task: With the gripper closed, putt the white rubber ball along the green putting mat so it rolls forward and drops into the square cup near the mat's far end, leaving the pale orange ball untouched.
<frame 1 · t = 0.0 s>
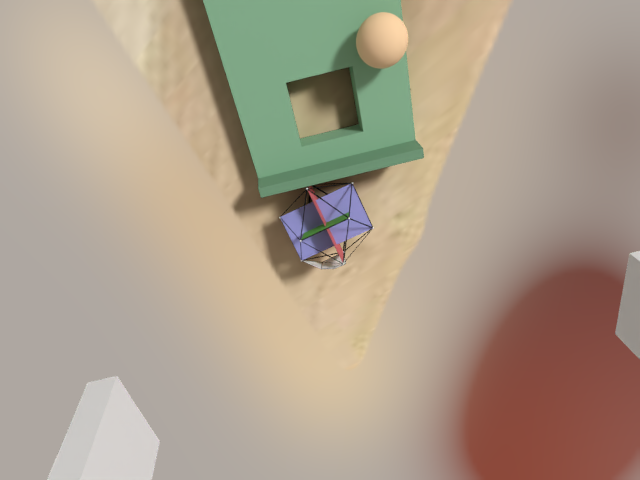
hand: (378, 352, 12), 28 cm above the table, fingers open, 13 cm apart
orange ball: (381, 41, 31), point 4 cm above the table, touching putting mat
geometric puzzle: (321, 204, 41), on the table
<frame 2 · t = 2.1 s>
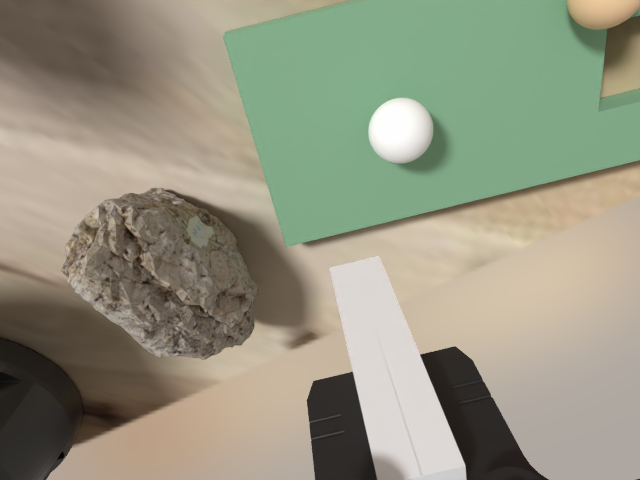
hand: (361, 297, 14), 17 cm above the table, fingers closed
rock: (179, 236, 31), on the table
putting mat: (478, 89, 28), on the table
white ball: (400, 131, 25), point 4 cm above the table, touching putting mat
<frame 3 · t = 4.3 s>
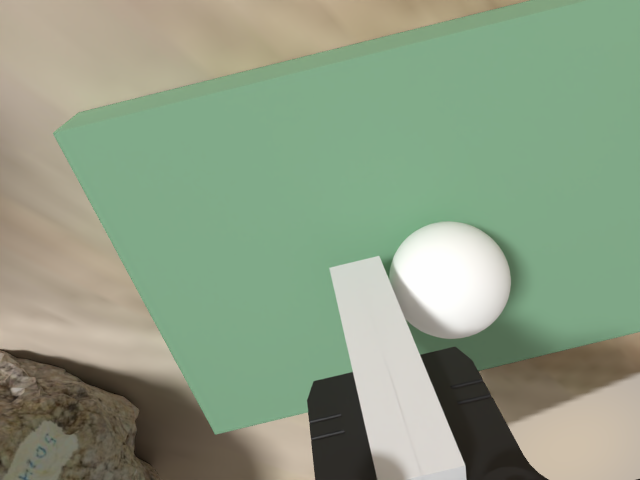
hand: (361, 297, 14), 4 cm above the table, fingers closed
rock: (52, 406, 20), on the table
putting mat: (528, 192, 17), on the table
white ball: (447, 279, 14), point 4 cm above the table, tilted 49°, touching putting mat
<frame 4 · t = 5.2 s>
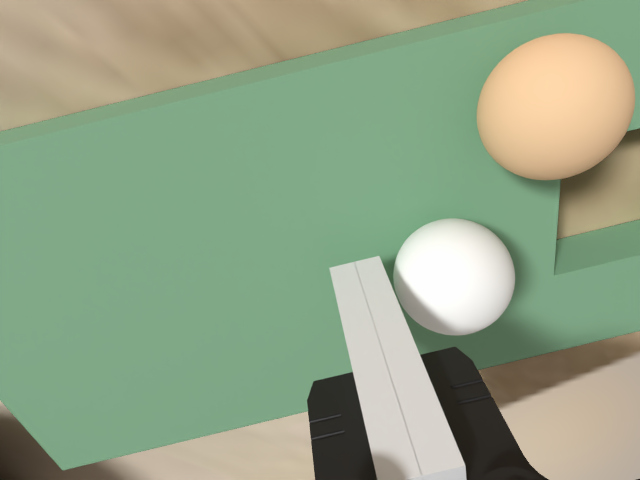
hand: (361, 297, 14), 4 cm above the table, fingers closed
orange ball: (550, 109, 11), point 4 cm above the table, touching putting mat
putting mat: (357, 233, 17), on the table
white ball: (452, 276, 14), point 4 cm above the table, tilted 93°, touching putting mat
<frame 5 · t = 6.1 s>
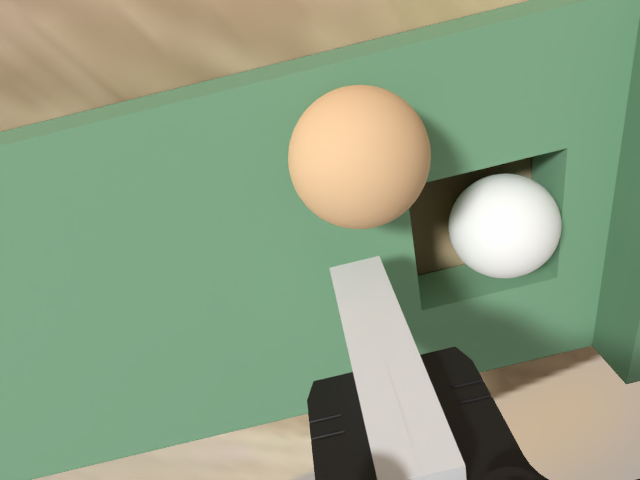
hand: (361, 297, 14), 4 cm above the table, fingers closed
orange ball: (358, 158, 11), point 4 cm above the table, touching putting mat
putting mat: (228, 266, 17), on the table
white ball: (502, 226, 15), point 2 cm above the table, tilted 175°
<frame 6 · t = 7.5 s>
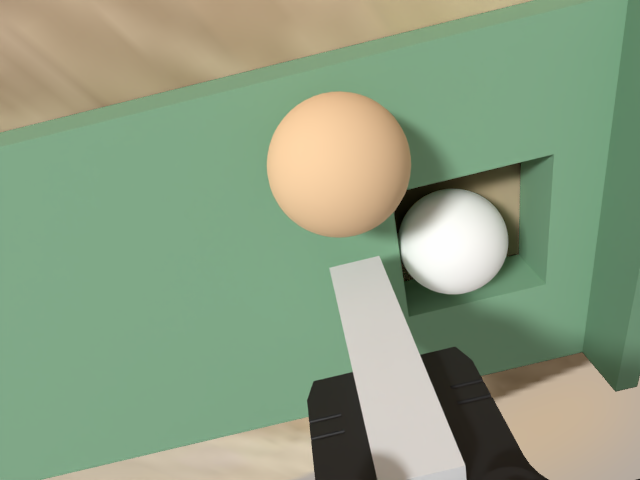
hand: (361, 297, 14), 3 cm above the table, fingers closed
orange ball: (338, 166, 11), point 4 cm above the table, touching putting mat
putting mat: (214, 272, 17), on the table
white ball: (451, 241, 15), point 2 cm above the table, tilted 133°
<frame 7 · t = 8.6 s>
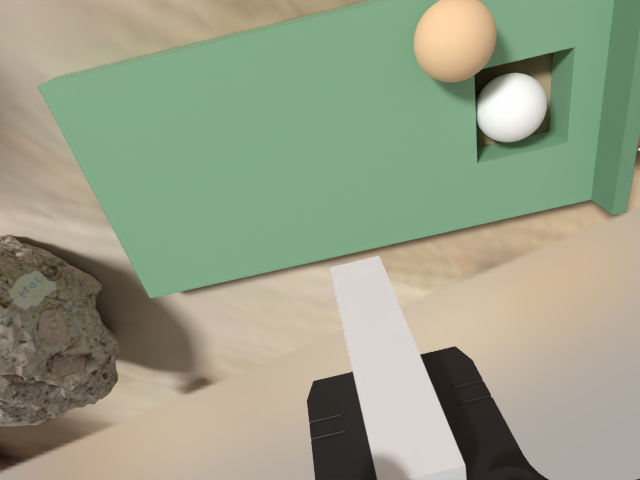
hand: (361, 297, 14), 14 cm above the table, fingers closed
orange ball: (454, 40, 20), point 4 cm above the table, touching putting mat
rock: (44, 282, 29), on the table
putting mat: (349, 135, 26), on the table
white ball: (510, 108, 24), point 2 cm above the table, tilted 136°
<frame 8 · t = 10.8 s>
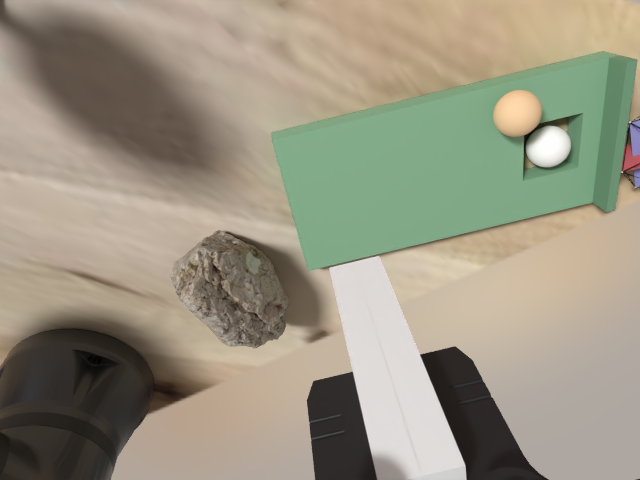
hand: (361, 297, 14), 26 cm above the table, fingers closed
orange ball: (517, 113, 35), point 4 cm above the table, touching putting mat
rock: (232, 262, 44), on the table
geometric puzzle: (633, 136, 42), on the table
putting mat: (441, 164, 41), on the table
white ball: (547, 146, 39), point 2 cm above the table, tilted 148°
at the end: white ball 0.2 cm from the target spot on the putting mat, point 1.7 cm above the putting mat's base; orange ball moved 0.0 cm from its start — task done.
